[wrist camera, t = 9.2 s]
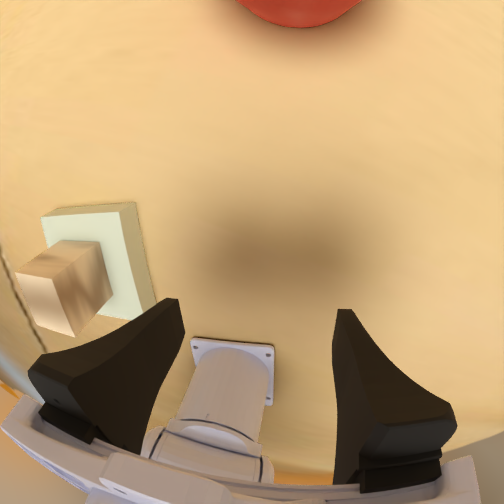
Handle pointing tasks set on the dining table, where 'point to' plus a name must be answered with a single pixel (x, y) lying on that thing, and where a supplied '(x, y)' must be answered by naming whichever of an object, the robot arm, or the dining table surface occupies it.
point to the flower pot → (299, 11)
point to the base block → (109, 251)
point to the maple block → (66, 285)
